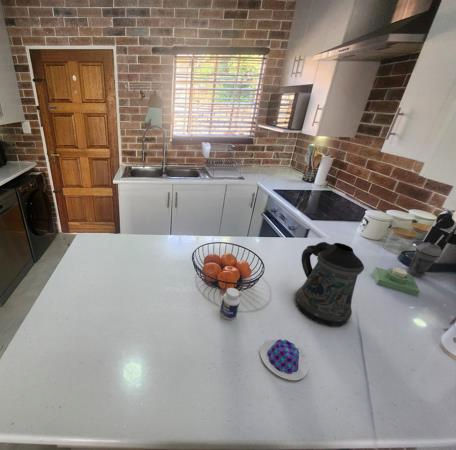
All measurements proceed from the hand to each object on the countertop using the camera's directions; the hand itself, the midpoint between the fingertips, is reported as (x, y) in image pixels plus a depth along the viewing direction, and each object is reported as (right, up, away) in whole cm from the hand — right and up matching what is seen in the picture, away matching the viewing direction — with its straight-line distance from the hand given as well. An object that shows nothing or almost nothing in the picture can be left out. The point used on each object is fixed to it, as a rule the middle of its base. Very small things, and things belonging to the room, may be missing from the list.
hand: (452, 243), depth 85 cm
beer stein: (-46, -23, +3) cm, 51 cm away
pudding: (-67, -32, -16) cm, 76 cm away
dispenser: (-8, -18, +14) cm, 24 cm away
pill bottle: (-78, -24, -2) cm, 82 cm away
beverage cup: (+9, -15, +22) cm, 28 cm away
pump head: (-7, -13, +12) cm, 19 cm away
